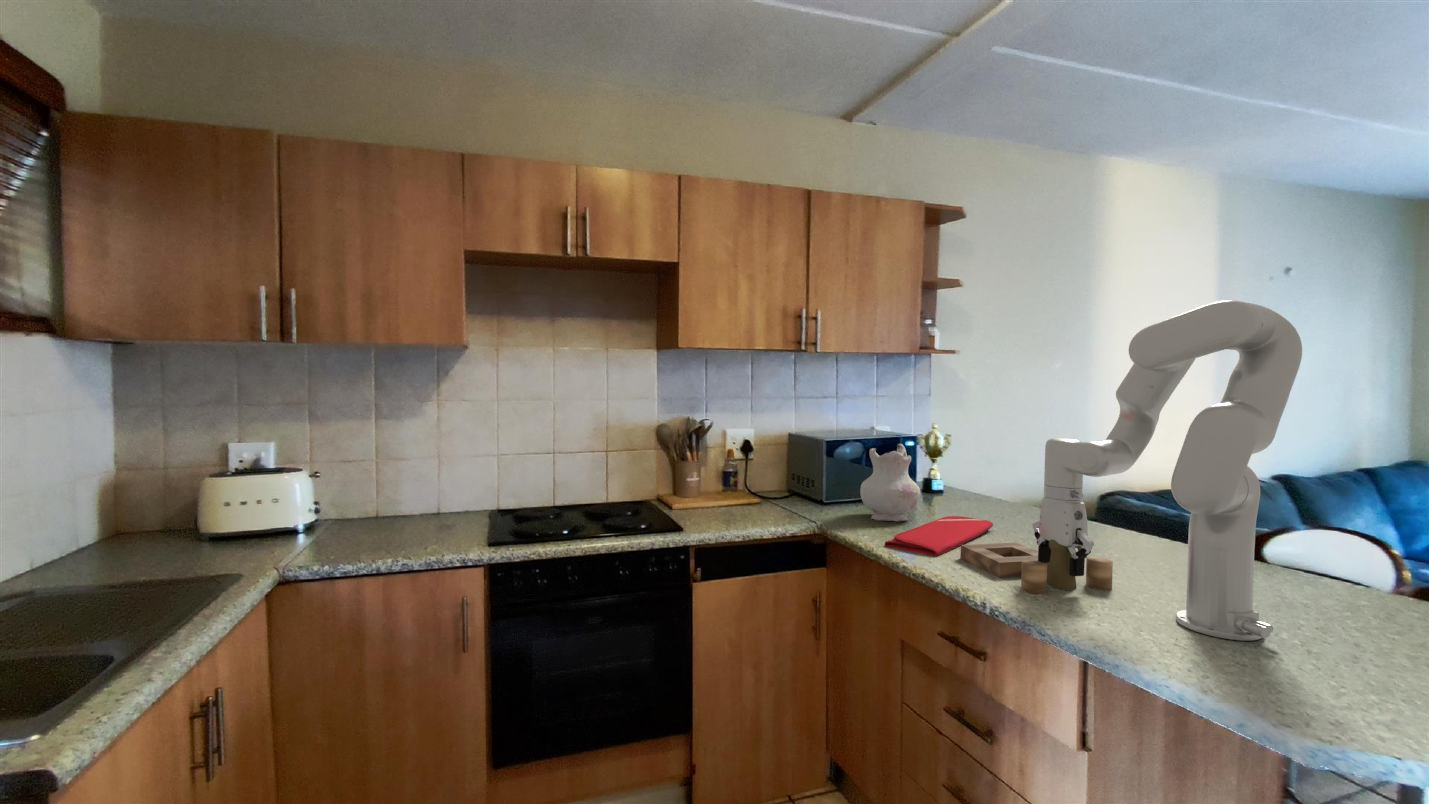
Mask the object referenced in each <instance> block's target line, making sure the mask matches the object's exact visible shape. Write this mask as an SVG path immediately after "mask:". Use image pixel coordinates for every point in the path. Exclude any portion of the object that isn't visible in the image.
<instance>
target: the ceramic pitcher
mask: <svg viewBox="0 0 1429 804" xmlns="http://www.w3.org/2000/svg"><path fill="white" fill-rule="evenodd" d="M896 447H897V448H896V450H893V451H889V452H885V453H884V454H881V455H879V454H878V453H877V452H876V451H877V447H876V448H875V447H874V448H873V447H872V448H870V449H868V450H869V453H868V454H869V459H870V461H871V463H872V464H871V465H872V469H873V470H872V473H871V475H870V476H868V477H867V478H866V479H865V480H863V481H862V482H861V485H860V488H859V489H860V491H859V493H860V499H861V501H862V503H863V505H864V506H865V508H867V509H868V510H869V511H872V515H871V517H870V520H872V519H874V520H873V521H889V522H890V521H891V522H898V523H899V522H905V521H908V517H907V516H906V515H905V514H908V513H910V512H912V511H913V510H914V509H915V508H916V507H917V506H918V503H919V501H920V498H921V495H922V494H921V489H920V486H919V485H918V483H916V481H914V480H913V479H912V478H911V477H910V475H909V467H910V464H911V462H912V456H911V455H908V454H907V450H906V447H905V446H904V444H902V443H897V445H896Z"/></svg>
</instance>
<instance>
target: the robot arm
mask: <svg viewBox="0 0 1429 804" xmlns="http://www.w3.org/2000/svg"><path fill="white" fill-rule="evenodd" d="M1302 343H1303V342H1302V340H1301V337H1300V334H1299V333H1298V331H1297V329H1296V327H1295V326H1294V325H1293V324H1292V323H1291V322H1290V321H1289V320H1287V319H1286V318H1285V317H1284V316H1283V315H1281V314H1280V313H1278V312H1277V311H1274V310H1272V309H1271V308H1269V307H1265V306H1263V305H1261V304H1260V305H1259V304H1256V303H1251V302H1244V301H1241V300H1233V299H1232V300H1231V299H1228V300H1219V301H1214V302H1212V303H1209V304H1206V305H1202V306H1199V307H1196V308H1195V309H1192V310H1188V311H1187V312H1183V313H1181V314H1178V315H1175V316H1172V317H1169V318H1167V319H1165V320H1162V321H1158V322H1156V323H1153V324H1151V325H1148V326H1147V327H1144V328H1143V329H1141V330H1139V331H1138V332H1136V334H1135V335H1134V336H1133V337H1132V339H1131V340H1130V342H1129V345H1128V355H1129V358H1130V360H1131V361H1132V363H1133V364H1132V366H1131V367H1130V369H1129V371H1128V372H1127V374H1126V375H1125V377H1124V378H1123V380H1122V381H1121V383H1120V384H1119V386H1118V387H1117V389H1116V391H1115V397H1116V400H1117V402H1118V405H1119V413H1118V414H1119V415H1118V418H1117V420H1116V423H1114V427H1112V429H1111V431H1110V432H1109V434H1108V435H1107V436H1106V439H1104V440H1094V441H1081V440H1079V439H1075V438H1066V437H1065V438H1064V437H1054V438H1049V439H1048V440H1047V441H1046V443H1045V447H1044V450H1045V451H1044V474H1043V475H1044V476H1043V479H1044V481H1043V484H1044V485H1043V496H1042V500H1041V506H1040V510H1039V511H1040V512H1039V520H1038V521H1036V522H1033V523H1032V528H1033V531H1034V533H1033V535H1034V537H1035V539H1036V545H1037V548H1038V549H1037V551H1038V561H1039V562H1043V563H1049V562H1050V556H1051V549H1050V547H1049V541H1050V540H1051V539H1053V540H1055V541H1056V542H1057V543H1058V544H1060V545H1062V546H1064V547H1068V549H1069V551H1070V553H1071V555H1072V557H1073V558H1070V569H1069V574H1070V576H1075V577H1083V576H1084V575H1085V561H1086V560H1085V559H1087V558H1088V557H1089V555H1090V554H1091V552H1092V550H1093V547H1094V545H1095V542H1094V541H1093V540H1092V539H1091V537H1089V535H1088V534H1089V532H1088V531H1089V530H1088V528H1089V527H1088V518H1087V517H1088V516H1087V509H1086V503H1085V502H1084V501H1083V498H1084V493H1083V482H1084V476H1087V477H1093V478H1098V477H1099V478H1101V477H1106V476H1111V475H1118V474H1123V473H1125V472H1126V471H1128V470H1129V469H1131V468H1132V467H1133V466H1134V465H1135V463H1137V461H1138V459H1139V458H1140V457H1141V455H1142V454H1143V453H1144V450H1146V447H1147V446H1149V444H1150V442H1151V440H1152V438H1153V436H1154V433H1155V431H1156V429H1157V425H1158V422H1159V419H1160V414H1161V412H1162V410H1163V408H1164V406H1165V405H1166V404H1167V402H1168V401H1169V399H1170V397H1171V396H1172V394H1173V393H1174V392H1175V390H1176V388H1177V387H1178V385H1179V384H1180V383H1181V381H1182V380H1183V378H1184V377H1185V376H1186V374H1187V373H1188V371H1189V370H1190V368H1191V366H1192V365H1193V364H1194V362H1195V360H1196V359H1198V358H1201V357H1204V356H1208V355H1210V354H1215V353H1217V352H1221V351H1224V350H1225V351H1226V350H1231V351H1237V352H1238V355H1239V356H1238V357H1239V358H1238V362H1237V364H1236V365H1235V367H1234V368H1233V370H1232V372H1231V374H1230V377H1229V379H1228V383H1227V386H1226V389H1225V392H1224V394H1223V397H1222V399H1221V400H1220V403H1216V404H1213V405H1210V406H1208V407H1206V408H1204V409H1203V410H1201V411H1200V412H1199V413H1198V414H1197V415H1196V416H1195V417H1194V418H1193V420H1192V422H1191V423H1190V425H1189V427H1188V429H1187V432H1186V436H1185V439H1184V441H1183V444H1182V447H1181V450H1180V452H1179V456H1178V458H1177V460H1176V463H1175V465H1174V466H1175V467H1174V469H1173V472H1172V476H1171V481H1170V490H1171V494H1172V496H1173V498H1174V500H1175V501H1176V503H1177V504H1178V505H1179V506H1180V507H1181V508H1183V509H1184V510H1186V511H1188V512H1189V513H1190V517H1189V522H1188V540H1187V572H1186V573H1187V574H1186V598H1185V599H1186V604H1185V605H1186V607H1185V609H1182V610H1179V611H1177V612H1176V613H1175V620H1176V621H1177V622H1178V623H1179V624H1180V625H1181V626H1183V627H1185V628H1186V629H1189V630H1191V631H1194V632H1197V633H1201V634H1204V635H1207V636H1211V637H1215V638H1219V639H1224V640H1225V639H1227V640H1233V641H1242V642H1243V641H1245V642H1247V641H1248V642H1250V641H1257V640H1260V639H1262V638H1263V639H1267V638H1268V637H1270V635H1271V633H1273V631H1274V627H1273V625H1272V624H1269V623H1266V622H1262V621H1260V619H1259V617H1260V612H1259V611H1256V610H1253V608H1254V607H1253V604H1254V603H1253V602H1254V577H1255V576H1254V575H1255V549H1256V548H1255V547H1256V546H1255V545H1256V528H1257V520H1258V519H1257V517H1258V512H1259V506H1260V500H1261V486H1260V485H1261V483H1260V481H1259V478H1258V476H1257V474H1256V473H1255V471H1253V469H1251V467H1249V466H1248V464H1249V462H1250V460H1251V457H1252V455H1254V454H1257V453H1261V452H1263V451H1264V450H1266V449H1267V448H1269V446H1271V444H1272V443H1273V441H1274V439H1275V437H1276V433H1277V430H1278V427H1279V426H1280V425H1279V424H1280V421H1281V418H1282V416H1283V413H1284V411H1285V408H1286V405H1287V404H1288V403H1287V402H1288V400H1289V397H1290V394H1291V391H1292V389H1293V385H1294V383H1295V380H1296V378H1297V375H1298V372H1299V370H1300V366H1301V362H1302V356H1303V344H1302ZM1072 543H1075V544H1072Z"/></svg>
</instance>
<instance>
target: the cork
mask: <svg viewBox="0 0 1429 804" xmlns="http://www.w3.org/2000/svg"><path fill="white" fill-rule="evenodd" d="M1072 544H1075V543H1072ZM1049 547H1050V549H1051V556H1050V562H1049V568H1048V574H1047V586H1048V585H1049V586H1048V587H1050V586H1051V587H1050V588H1053V589H1056V588H1059V589H1058V590H1062V589H1065V590H1064V591H1073V589H1074V590H1077V588H1078V587H1077V581H1076V580H1077V579H1076V576H1070V574H1069V569H1070V558H1073V557H1072V555H1071V553H1070V551H1069V549H1068V547H1064V546H1062V545H1060V544H1058V543H1057V542H1056V541H1055V540H1053V539H1051V540H1050V541H1049Z"/></svg>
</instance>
